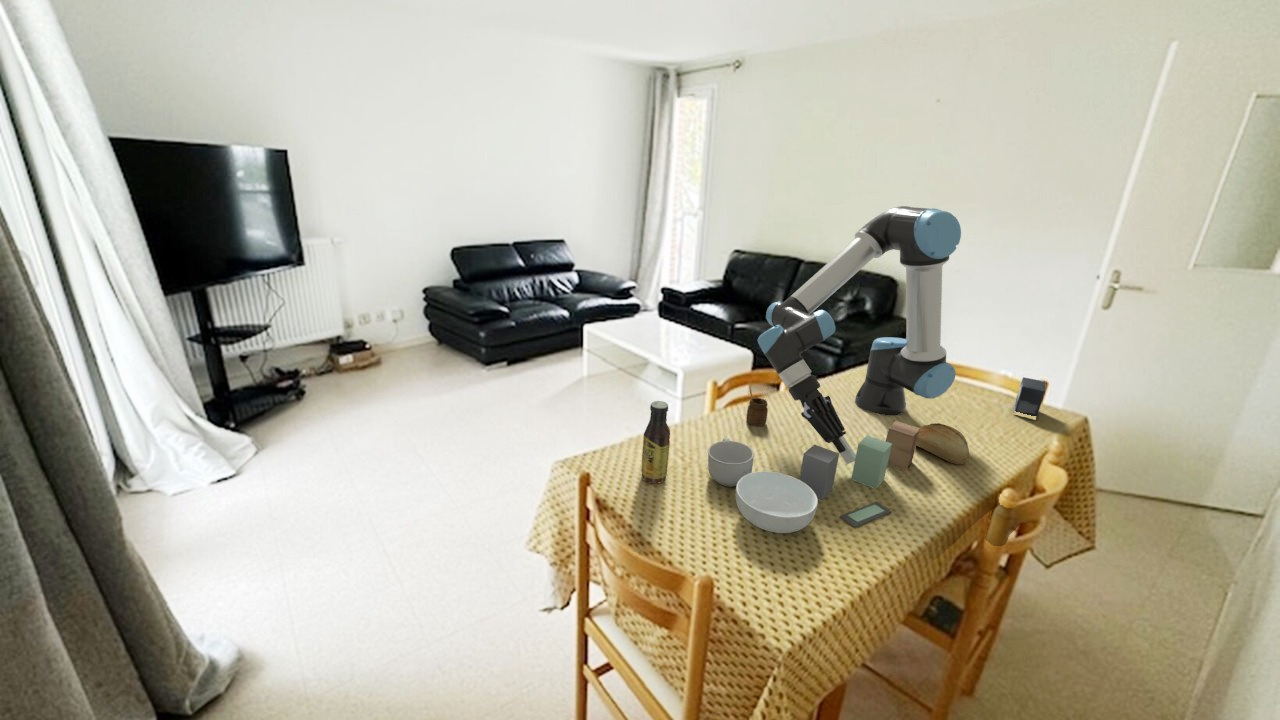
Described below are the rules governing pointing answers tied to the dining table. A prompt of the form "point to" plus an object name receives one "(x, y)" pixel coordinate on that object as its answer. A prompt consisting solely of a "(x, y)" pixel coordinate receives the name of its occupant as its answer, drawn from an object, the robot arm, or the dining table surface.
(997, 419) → the dining table surface
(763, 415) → the utensil holder
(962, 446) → the bread roll
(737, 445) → the teacup
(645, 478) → the sauce bottle
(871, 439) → the sage block
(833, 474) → the charcoal block
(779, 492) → the cereal bowl
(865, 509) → the card
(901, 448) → the walnut block
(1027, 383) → the small box
